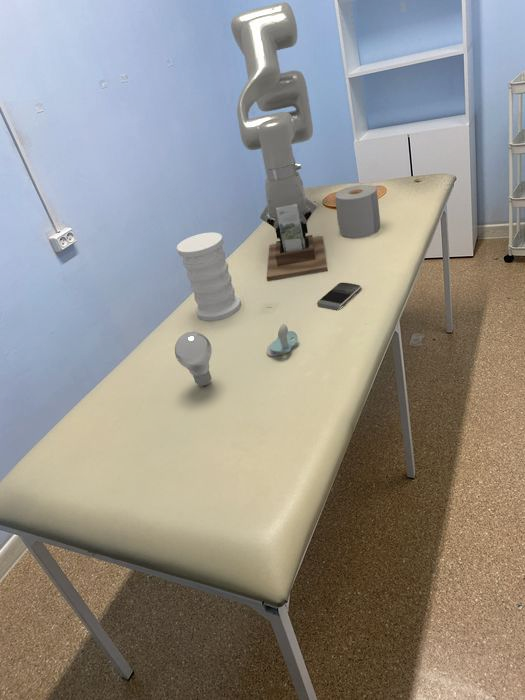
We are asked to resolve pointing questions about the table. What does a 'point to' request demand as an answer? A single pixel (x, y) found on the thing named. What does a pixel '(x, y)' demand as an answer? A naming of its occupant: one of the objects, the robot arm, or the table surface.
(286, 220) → the syrup box
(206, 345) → the light bulb
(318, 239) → the stand
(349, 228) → the toilet paper roll
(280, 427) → the table surface
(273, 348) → the pacifier
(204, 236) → the decorative container
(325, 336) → the table surface
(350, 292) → the cell phone
